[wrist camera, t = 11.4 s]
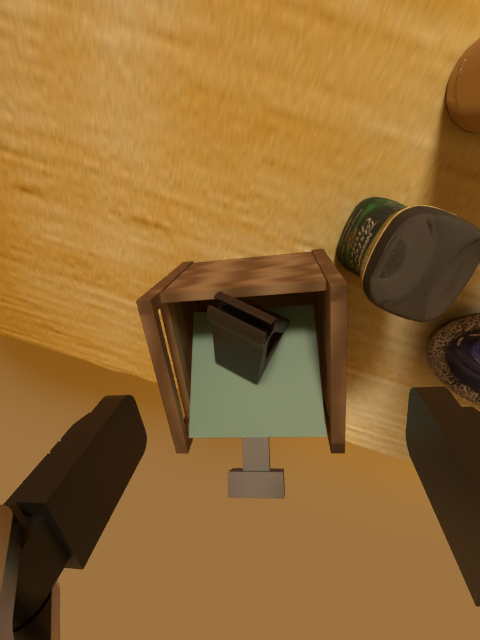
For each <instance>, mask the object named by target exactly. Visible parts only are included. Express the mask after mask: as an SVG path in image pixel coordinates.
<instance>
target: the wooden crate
mask: <svg viewBox="0 0 480 640" xmlns="http://www.w3.org/2000/svg"><path fill="white" fill-rule="evenodd" d="M220 291H221V292H223V293H226V294H228V295H230V296H232V297H247V296H261V295H274V294H287V293H300V292H313V291H315V322H316V335H317V346H318V356H319V366H320V377H321V387H322V397H323V408H324V418H325V425H326V430H327V434H328V440H329V445H330V450H331V453H345V416H346V363H347V310H348V284H347V282H346V281H345V280H344V278H343V277H342V275H341V274H340V272H339V271H338V270H337V268H336V267H335V265H334V264H333V262H332V261H331V260H330V258H329V257H328V255H327V254H326V252H325V251H324V250H323V249H316V250H312V252H304V253H293V254H283V255H272V256H262V257H251V258H241V259H230V260H220V261H209V262H199V263H193V261H191V262H183V263H182V264H180V265H179V266H178V267H177V268H175V269H174V270H173V271H172V272H171V273H169V274H168V275H167V276H166V277H165V278H163V279H162V280H161V281H160V282H159V283H157V284H156V285H155V286H154V287H153V288H151V289H150V290H149V291H148V292H147V293H145V294H144V295H143V296H142V297H140V298H139V299H138V300H137V301H136V303H137V306H138V310H139V314H140V318H141V322H142V325H143V329H144V333H145V337H146V340H147V344H148V348H149V352H150V355H151V359H152V363H153V367H154V371H155V374H156V378H157V382H158V385H159V389H160V393H161V397H162V401H163V404H164V408H165V412H166V416H167V419H168V423H169V427H170V431H171V435H172V438H173V442H174V445H175V450H176V453H188V452H189V449H190V446H191V443H192V440H193V438H189V422H190V397H191V371H192V346H193V321H194V313H196V312H200V307H199V302H198V300H208V299H215V298H214V296H215V294H216V293H218V292H220ZM159 308H160V310H161V314H162V319H163V323H164V327H165V331H166V336H167V340H168V344H169V348H170V353H171V357H172V361H173V365H174V370H175V374H176V378H177V382H178V387H179V390H180V395H181V399H182V404H183V408H184V412H185V418H184V419H183V415H182V411H181V406H180V402H179V398H178V394H177V390H176V385H175V381H174V377H173V373H172V369H171V364H170V360H169V356H168V352H167V348H166V344H165V339H164V335H163V331H162V327H161V323H160V318H159V314H158V309H159Z"/></svg>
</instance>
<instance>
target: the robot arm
mask: <svg viewBox="0 0 480 640" xmlns="http://www.w3.org/2000/svg"><path fill="white" fill-rule="evenodd" d="M446 102H447V108H448V112H449V114H450V116H451V118H452V120H453V121H454V122H455V123H456V125H458V126H459V127H460V128H462V129H463V130H466V131H469V132H472V133H480V39H478V40H477V41H476V42H475V43H473V44H472V45H471V46H470V47H469V48H468V49H467V50H466V51H465V52H464V54H463V55H462V56H461V57H460V59H459V60H458V62H457V64H456V65H455V67H454V69H453V71H452V74H451V76H450V79H449V82H448V87H447V94H446ZM406 442H407V447H408V451H409V455H410V457H411V460H412V462H413V464H414V466H415V469H416V471H417V473H418V475H419V478H420V480H421V482H422V484H423V487H424V489H425V491H426V493H427V496H428V498H429V500H430V503H431V505H432V507H433V509H434V512H435V514H436V516H437V518H438V521H439V523H440V525H441V527H442V530H443V532H444V534H445V536H446V539H447V541H448V543H449V546H450V548H451V550H452V552H453V555H454V557H455V559H456V562H457V564H458V566H459V568H460V571H461V573H462V575H463V577H464V579H465V582H466V584H467V586H468V589H469V591H470V593H471V596H472V598H473V600H474V602H475V605H476V606H480V412H479V411H478V410H476V409H475V408H473V407H461V406H460V405H459V403H458V402H457V401H456V399H455V398H454V397H453V395H452V394H451V393H450V391H449V390H448V389H447V388H445V387H418V388H412V389H411V390H410V393H409V403H408V414H407V424H406ZM146 443H147V435H146V431H145V428H144V425H143V422H142V419H141V416H140V413H139V410H138V407H137V404H136V401H135V399H134V397H133V396H131V395H110V396H105V397H104V398H103V399H102V400H101V401H100V402H99V404H98V405H97V406H96V407H95V408H94V409H93V411H92V412H91V413H88V414H87V415H85V416H84V417H83V418H81V419H80V420H79V421H77V422H76V423H75V424H73V425H72V426H71V428H70V429H69V430H68V431H67V432H66V433H65V435H64V436H63V437H62V438H61V441H60V442H57V444H56V445H55V446H54V447H53V448H52V449H51V452H50V454H47V455H46V456H45V458H44V459H43V460H42V461H41V462H40V463H39V464H38V466H37V467H36V468H35V469H34V470H33V471H32V472H31V474H30V475H29V476H28V477H27V478H26V479H25V480H24V481H23V483H22V484H21V485H20V486H19V487H18V488H17V489H16V491H15V492H14V493H13V494H12V495H11V496H10V498H9V499H8V500H7V501H6V502H5V503H4V504H3V505H0V640H60V586H59V583H58V581H57V579H58V577H59V576H60V574H61V572H62V570H63V569H64V568H73V569H83V568H84V567H85V564H86V563H87V561H88V559H89V557H90V555H91V553H92V551H93V549H94V548H95V546H96V544H97V542H98V540H99V538H100V536H101V534H102V532H103V530H104V528H105V527H106V525H107V523H108V521H109V519H110V517H111V515H112V513H113V511H114V509H115V507H116V505H117V504H118V502H119V500H120V498H121V496H122V494H123V492H124V490H125V488H126V486H127V485H128V483H129V481H130V479H131V477H132V475H133V473H134V471H135V469H136V467H137V465H138V464H139V461H140V460H141V458H142V456H143V454H144V451H145V448H146Z"/></svg>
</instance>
